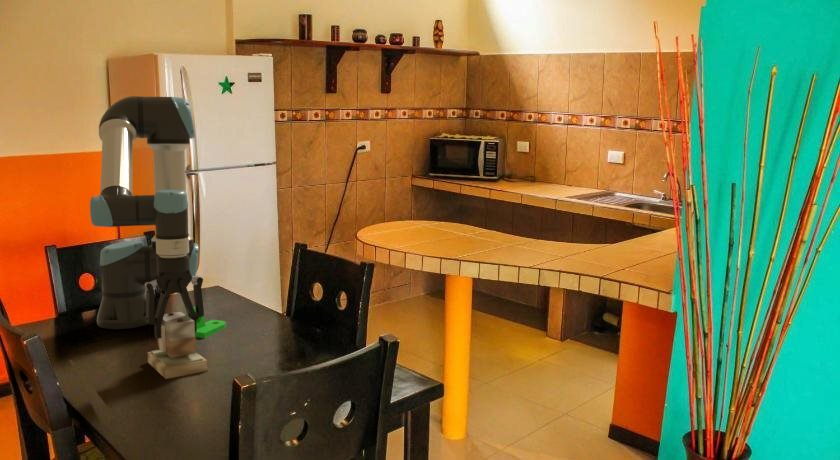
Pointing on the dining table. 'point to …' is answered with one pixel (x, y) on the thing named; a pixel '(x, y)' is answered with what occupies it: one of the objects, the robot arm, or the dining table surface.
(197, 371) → the stand
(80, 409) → the dining table surface
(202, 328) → the mechanical part
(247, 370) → the dining table surface
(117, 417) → the dining table surface
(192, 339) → the block
